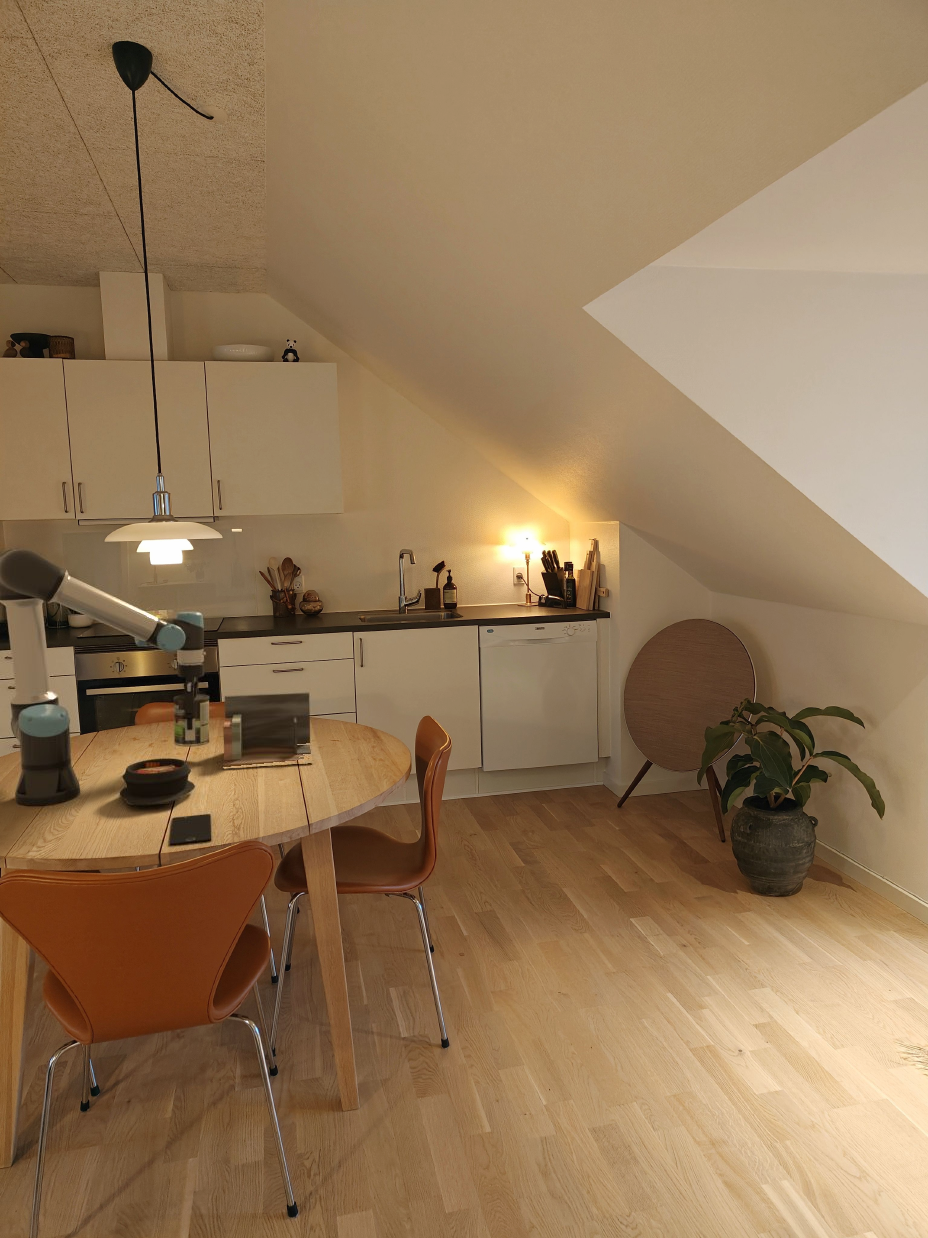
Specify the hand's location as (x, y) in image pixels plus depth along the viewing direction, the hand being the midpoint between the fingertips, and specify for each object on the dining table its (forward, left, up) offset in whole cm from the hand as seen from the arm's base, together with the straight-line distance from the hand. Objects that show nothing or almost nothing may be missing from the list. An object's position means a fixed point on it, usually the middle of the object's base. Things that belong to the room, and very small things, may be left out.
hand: (192, 736), depth 250 cm
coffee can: (0, 0, -2) cm, 2 cm away
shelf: (-2, -22, -8) cm, 24 cm away
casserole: (-34, +6, -8) cm, 35 cm away
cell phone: (-62, -5, -8) cm, 63 cm away
